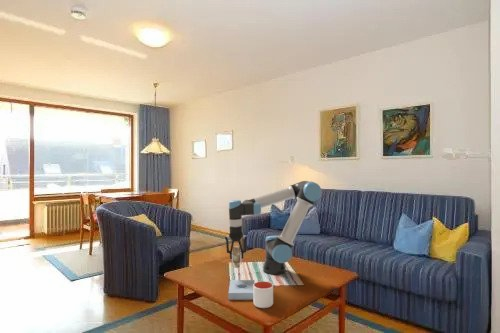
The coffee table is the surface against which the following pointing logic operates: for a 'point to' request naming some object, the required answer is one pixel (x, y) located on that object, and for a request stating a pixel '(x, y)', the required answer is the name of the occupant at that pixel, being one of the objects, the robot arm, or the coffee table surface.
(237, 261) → the peg
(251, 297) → the board
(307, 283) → the coffee table surface
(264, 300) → the cup
